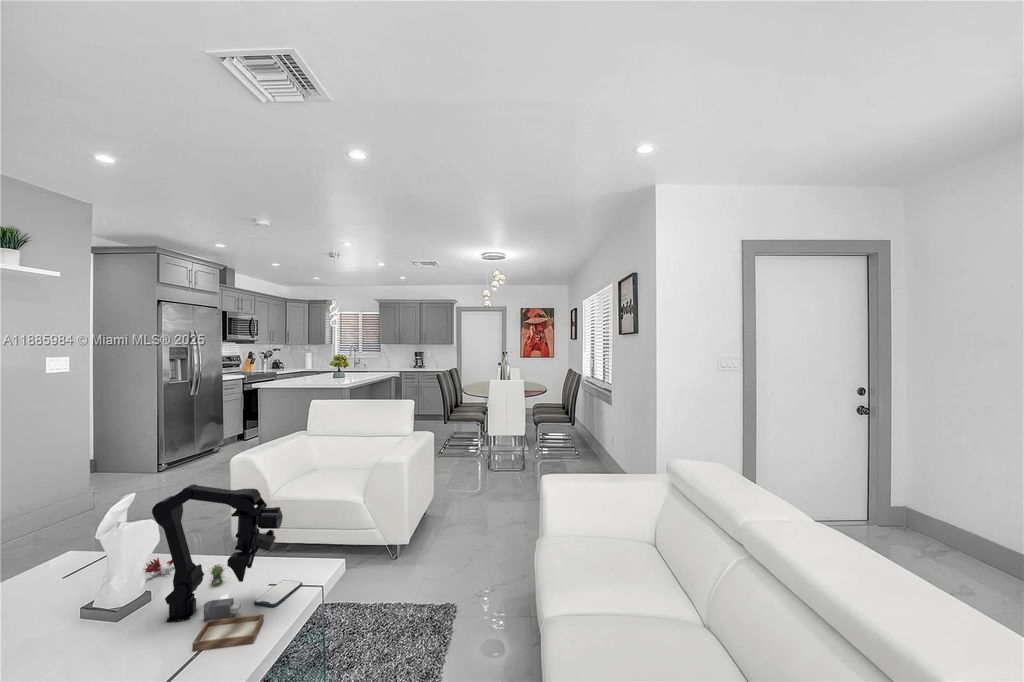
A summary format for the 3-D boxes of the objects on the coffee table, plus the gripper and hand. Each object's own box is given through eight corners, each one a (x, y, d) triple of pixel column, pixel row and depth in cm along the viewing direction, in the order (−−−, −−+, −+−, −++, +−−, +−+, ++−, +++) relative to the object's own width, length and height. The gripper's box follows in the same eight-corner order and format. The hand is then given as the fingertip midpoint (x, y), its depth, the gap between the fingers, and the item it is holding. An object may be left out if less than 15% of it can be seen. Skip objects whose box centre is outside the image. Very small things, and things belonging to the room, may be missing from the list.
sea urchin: (207, 597, 166) (208, 576, 166) (191, 587, 172) (191, 567, 172) (242, 582, 176) (242, 562, 176) (225, 573, 182) (225, 554, 182)
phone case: (282, 583, 177) (252, 606, 161) (282, 579, 177) (252, 601, 161) (303, 586, 175) (275, 609, 160) (304, 581, 175) (275, 604, 160)
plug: (201, 623, 151) (201, 607, 151) (206, 616, 155) (206, 600, 155) (237, 619, 153) (237, 603, 153) (241, 612, 157) (241, 597, 157)
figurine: (171, 562, 191) (171, 546, 191) (191, 567, 187) (191, 551, 187) (130, 579, 177) (130, 562, 177) (150, 585, 173) (150, 567, 173)
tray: (192, 651, 137) (192, 643, 137) (207, 628, 148) (207, 620, 148) (253, 643, 141) (253, 635, 141) (263, 621, 152) (263, 614, 152)
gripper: (266, 538, 150) (264, 586, 150) (280, 516, 168) (278, 560, 168) (227, 540, 148) (225, 590, 148) (245, 518, 166) (243, 562, 166)
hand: (245, 574), depth 157 cm, fingers open, 9 cm apart
